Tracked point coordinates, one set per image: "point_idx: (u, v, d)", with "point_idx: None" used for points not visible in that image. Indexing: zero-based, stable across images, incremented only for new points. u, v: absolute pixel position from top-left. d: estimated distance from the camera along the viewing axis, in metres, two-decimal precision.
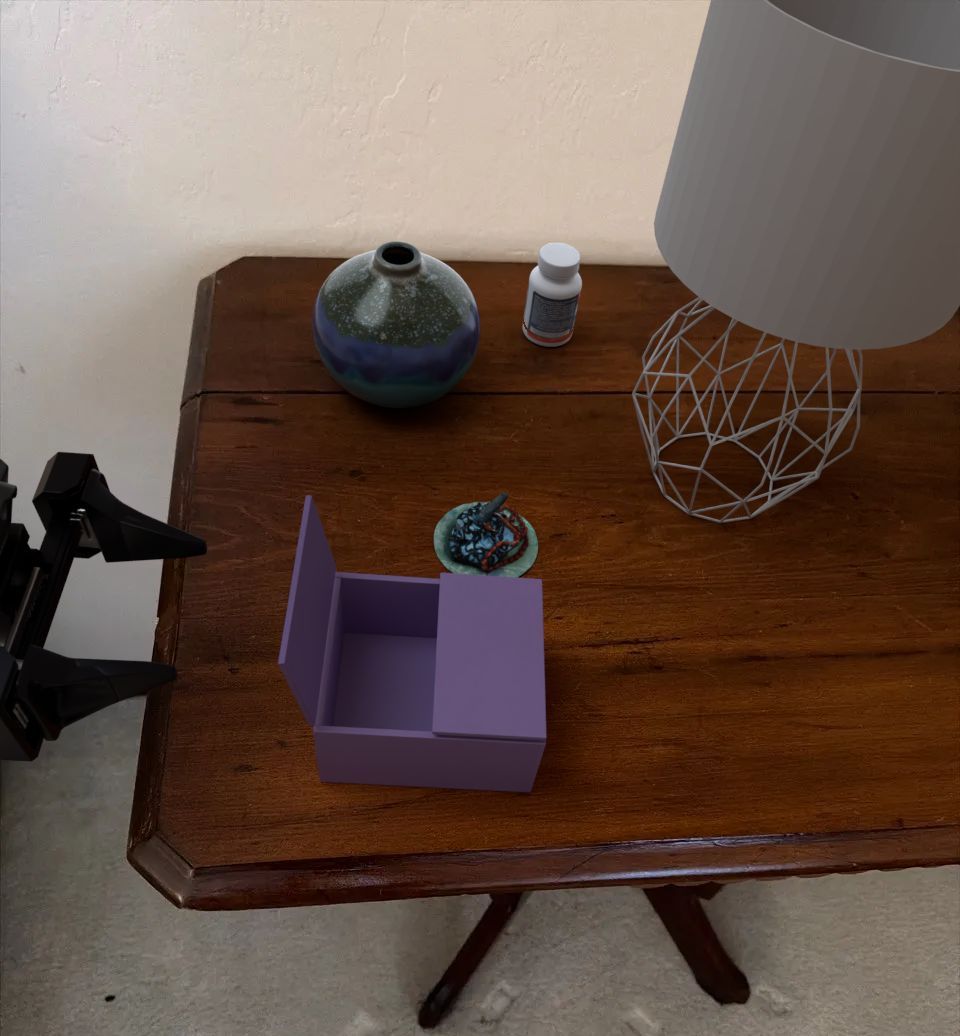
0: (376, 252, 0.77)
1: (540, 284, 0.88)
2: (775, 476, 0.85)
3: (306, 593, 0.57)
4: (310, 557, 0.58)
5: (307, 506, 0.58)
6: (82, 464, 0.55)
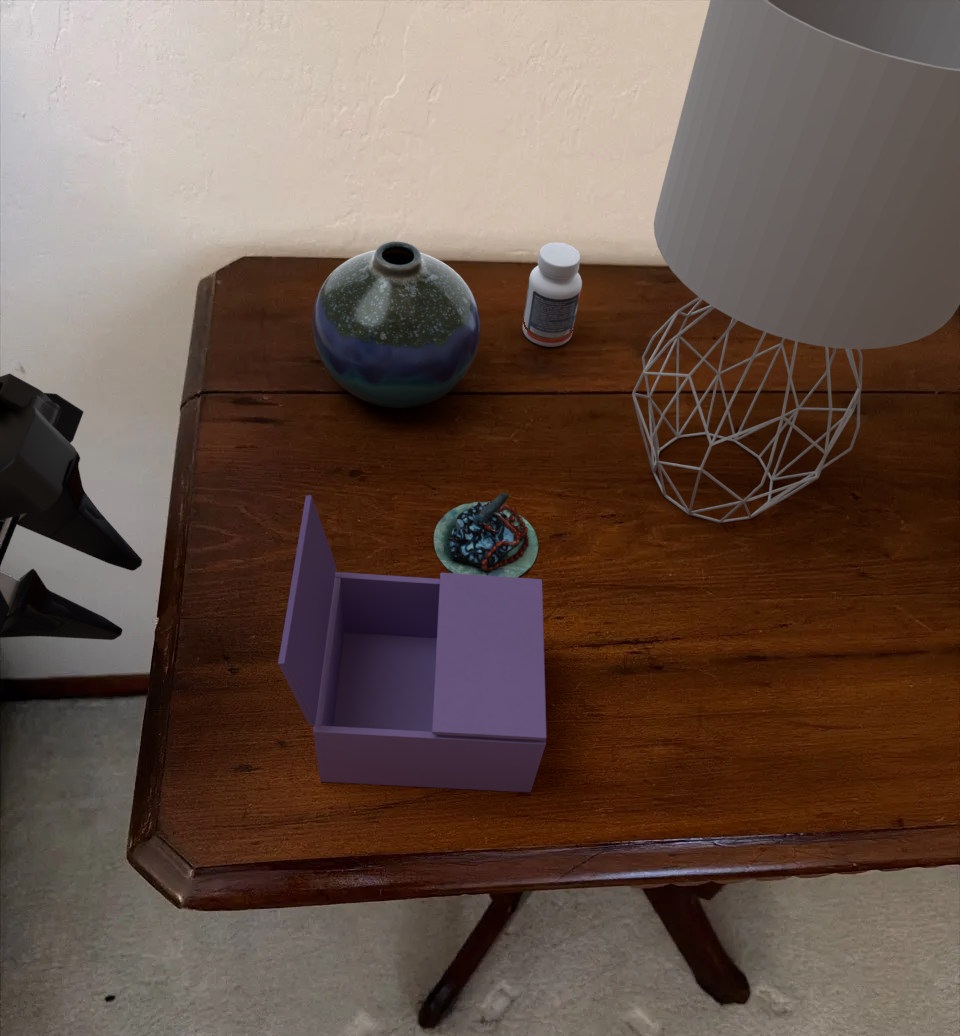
0: (376, 252, 0.77)
1: (540, 284, 0.88)
2: (775, 476, 0.85)
3: (306, 593, 0.57)
4: (310, 557, 0.58)
5: (307, 506, 0.58)
6: (78, 420, 0.56)
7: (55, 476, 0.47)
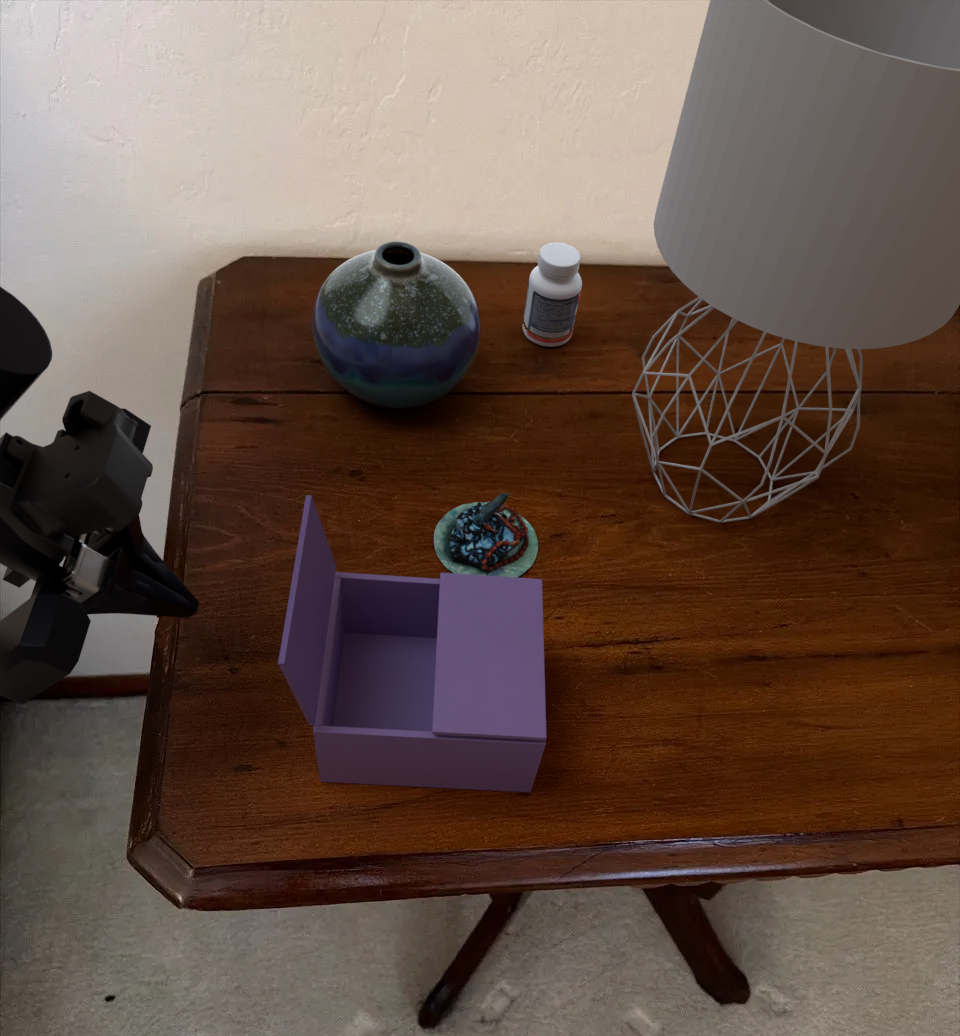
0: (376, 252, 0.77)
1: (540, 284, 0.88)
2: (775, 476, 0.85)
3: (306, 593, 0.57)
4: (310, 557, 0.58)
5: (307, 506, 0.58)
6: (146, 434, 0.57)
7: (135, 492, 0.48)
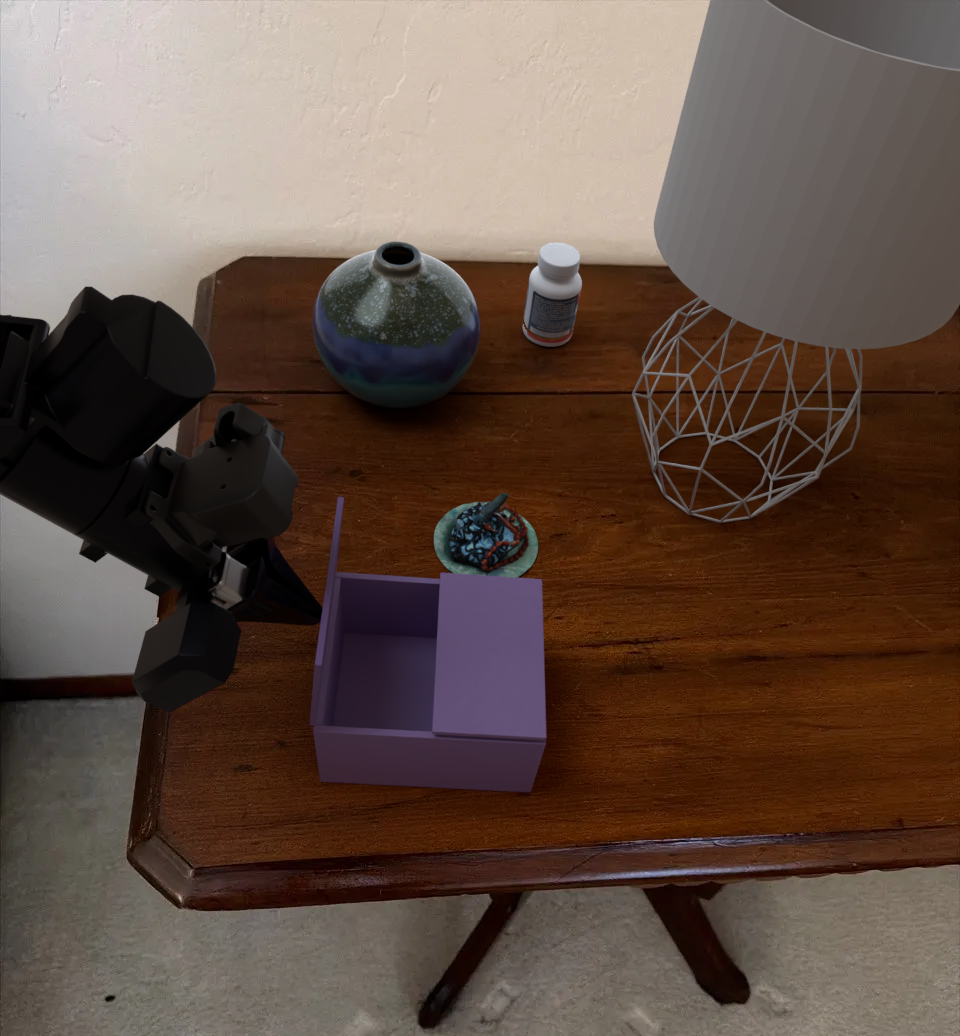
0: (376, 252, 0.77)
1: (540, 284, 0.88)
2: (775, 476, 0.85)
3: None
4: (336, 559, 0.58)
5: (340, 508, 0.58)
6: None
7: (287, 502, 0.49)
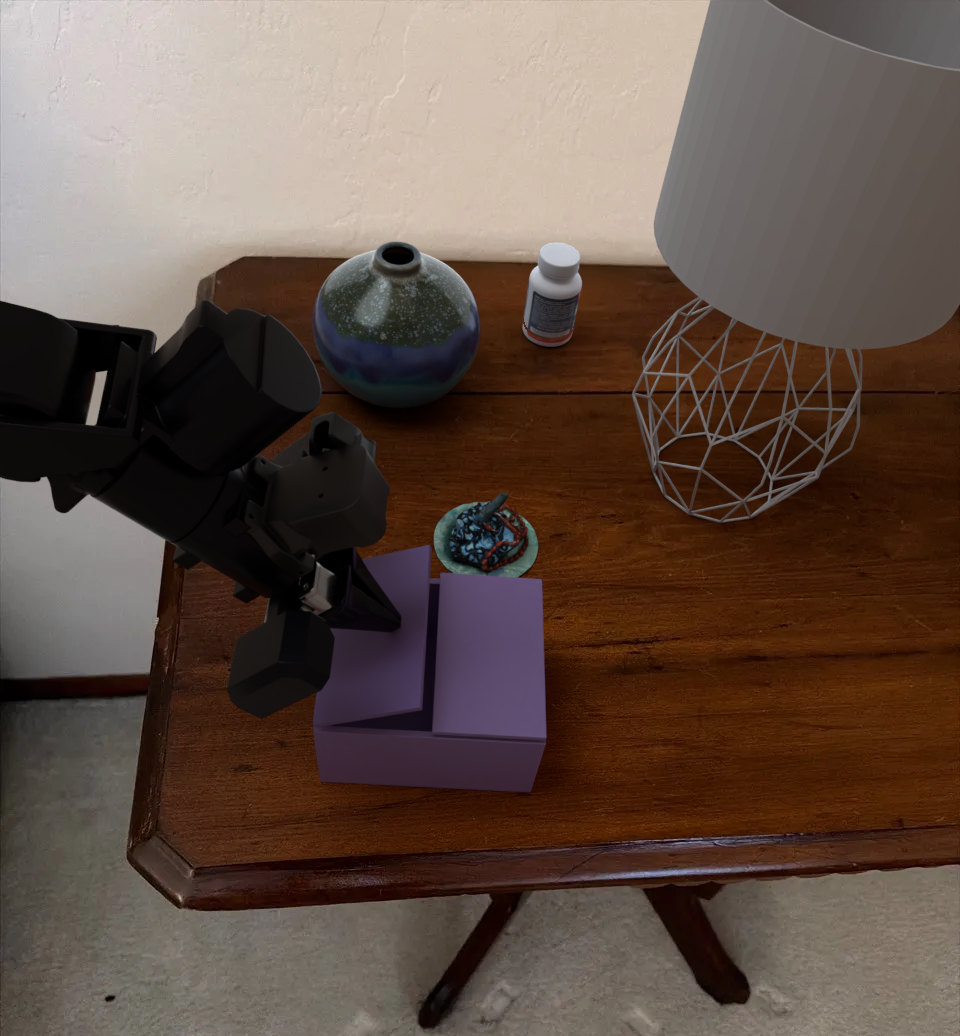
0: (376, 252, 0.77)
1: (540, 284, 0.88)
2: (775, 476, 0.85)
3: None
4: None
5: (430, 557, 0.62)
6: None
7: (381, 511, 0.49)
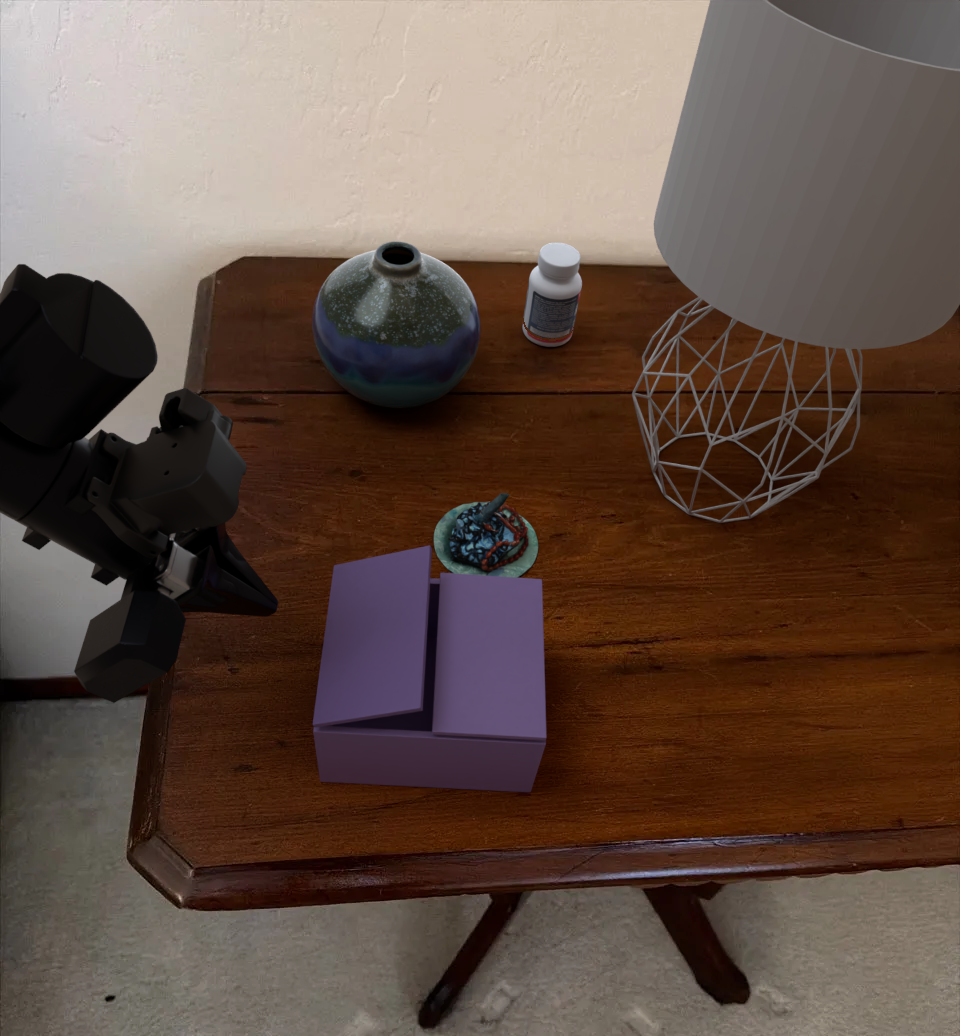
0: (376, 252, 0.77)
1: (540, 284, 0.88)
2: (775, 476, 0.85)
3: None
4: None
5: (430, 558, 0.62)
6: None
7: (233, 490, 0.48)
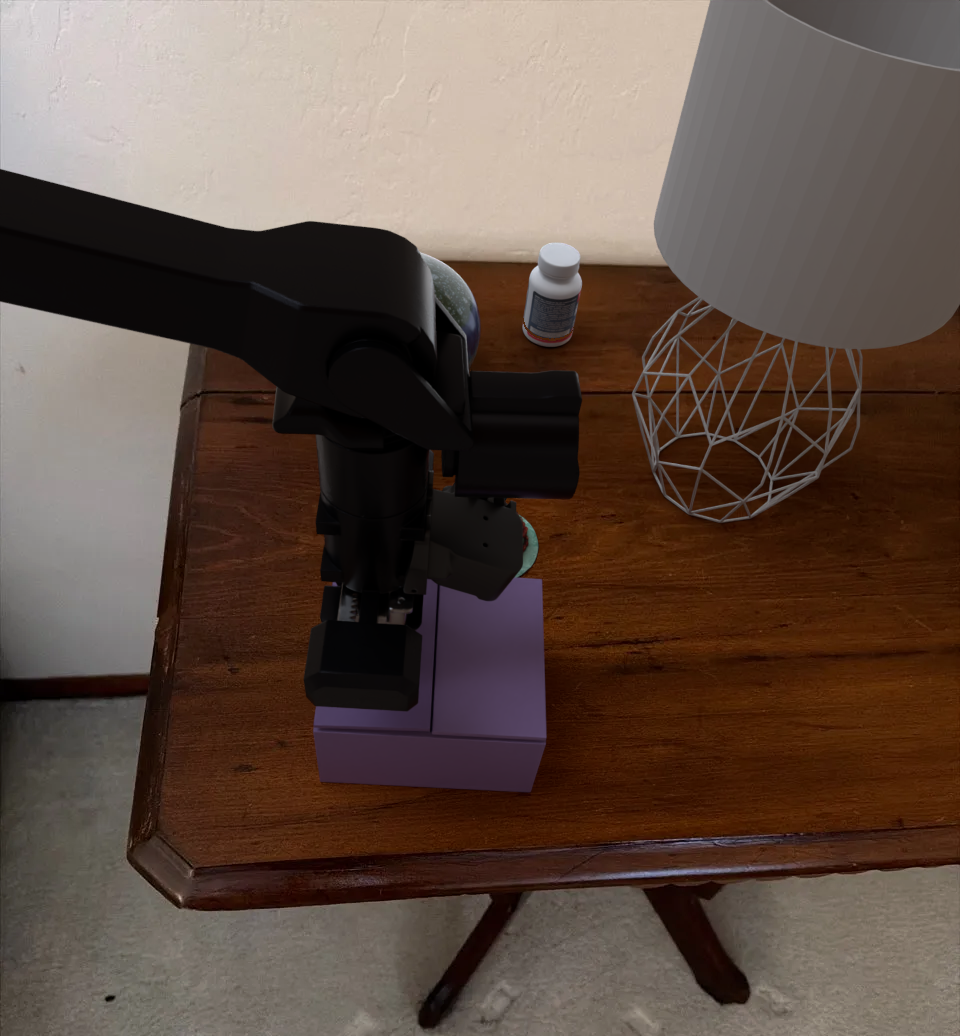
0: None
1: (540, 284, 0.88)
2: (775, 476, 0.85)
3: None
4: None
5: None
6: None
7: None
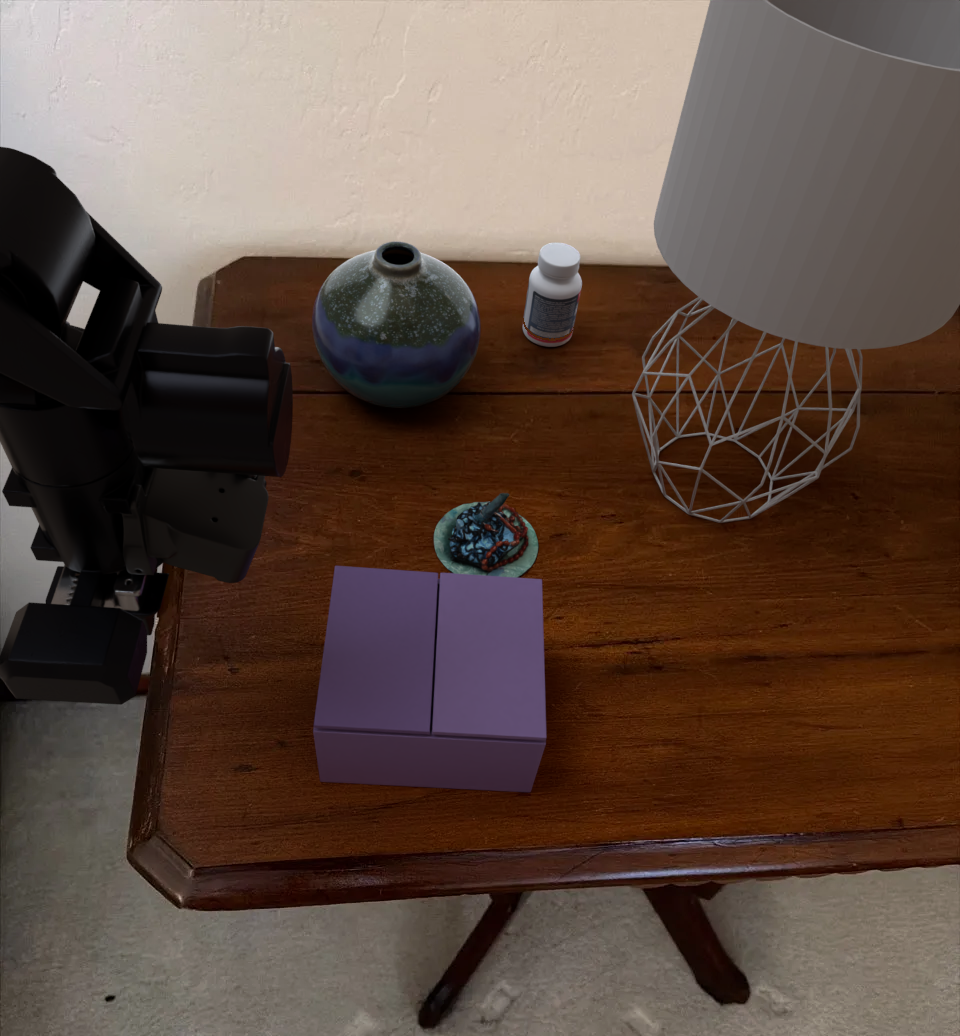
0: (376, 252, 0.77)
1: (540, 284, 0.88)
2: (775, 476, 0.85)
3: None
4: None
5: (437, 585, 0.65)
6: None
7: None
